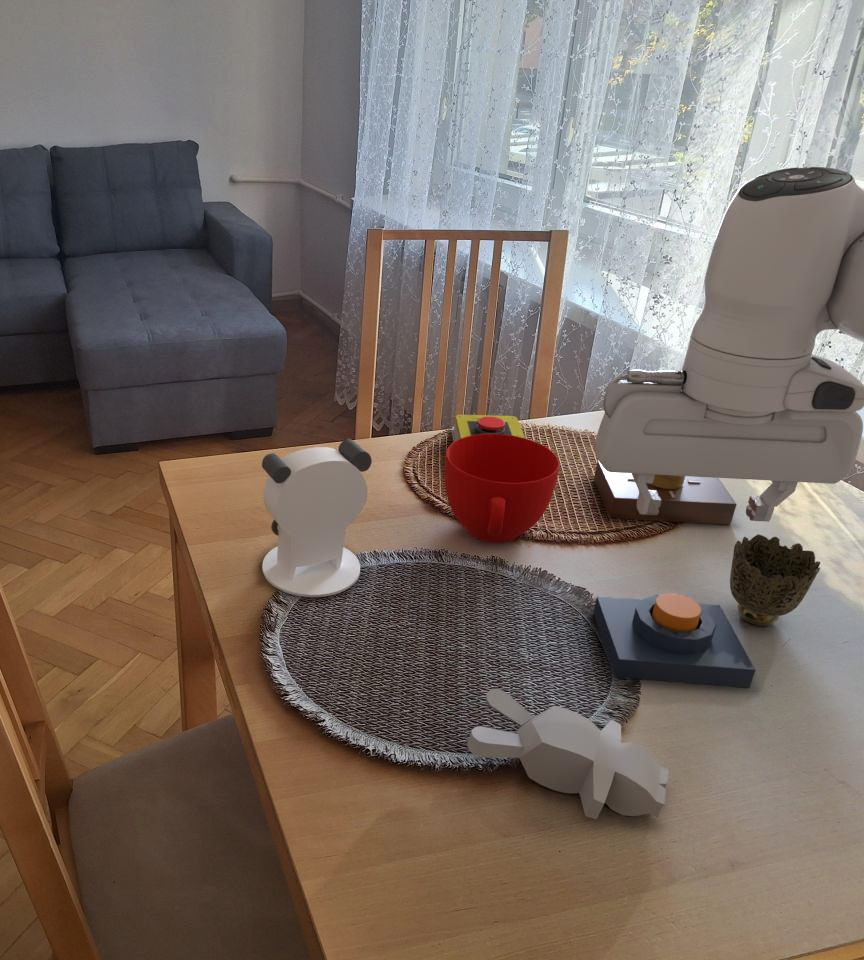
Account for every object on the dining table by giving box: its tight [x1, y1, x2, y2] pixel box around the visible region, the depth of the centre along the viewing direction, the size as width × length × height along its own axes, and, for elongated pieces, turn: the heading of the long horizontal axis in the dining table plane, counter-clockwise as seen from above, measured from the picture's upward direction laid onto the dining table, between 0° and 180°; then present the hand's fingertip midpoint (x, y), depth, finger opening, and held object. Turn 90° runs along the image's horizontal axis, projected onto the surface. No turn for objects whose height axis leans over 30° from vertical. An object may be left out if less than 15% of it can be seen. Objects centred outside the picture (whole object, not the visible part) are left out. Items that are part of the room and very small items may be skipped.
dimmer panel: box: [593, 460, 737, 526], centre depth 110 cm, size 14×10×3 cm
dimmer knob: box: [649, 475, 685, 489], centre depth 108 cm, size 4×4×4 cm
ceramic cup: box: [444, 434, 561, 544], centre depth 102 cm, size 13×17×10 cm
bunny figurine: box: [466, 688, 670, 820], centre depth 71 cm, size 10×5×15 cm
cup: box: [729, 533, 821, 627], centre depth 88 cm, size 8×7×8 cm
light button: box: [652, 592, 701, 632], centre depth 84 cm, size 4×4×2 cm
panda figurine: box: [261, 438, 373, 598], centre depth 97 cm, size 12×11×15 cm
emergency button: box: [451, 414, 526, 442], centre depth 123 cm, size 9×4×15 cm
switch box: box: [592, 594, 756, 689], centre depth 85 cm, size 12×10×4 cm
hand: (701, 514), depth 79 cm, fingers open, 8 cm apart
